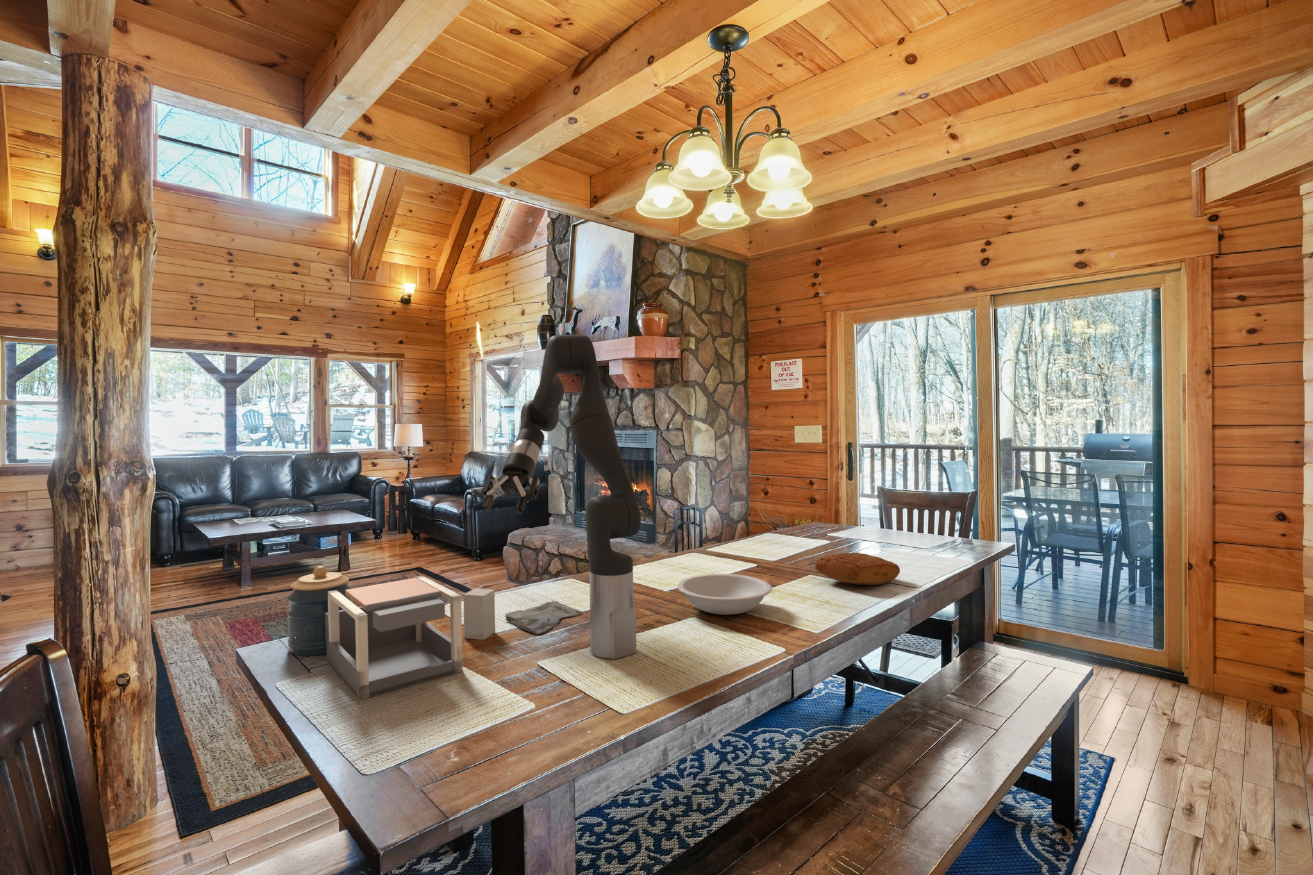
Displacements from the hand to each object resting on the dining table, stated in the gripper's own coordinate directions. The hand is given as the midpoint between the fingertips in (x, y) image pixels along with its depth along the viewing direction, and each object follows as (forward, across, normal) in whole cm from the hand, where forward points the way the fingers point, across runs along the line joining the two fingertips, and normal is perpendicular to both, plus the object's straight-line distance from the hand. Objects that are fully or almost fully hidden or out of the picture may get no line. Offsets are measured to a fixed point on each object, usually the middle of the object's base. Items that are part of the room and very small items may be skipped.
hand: (501, 511), depth 154 cm
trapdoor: (+34, -6, -13) cm, 37 cm away
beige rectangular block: (+27, 0, +10) cm, 29 cm away
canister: (+37, -31, +1) cm, 48 cm away
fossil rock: (+18, +10, +21) cm, 29 cm away
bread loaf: (-18, +88, +57) cm, 106 cm away
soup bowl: (+6, +53, +32) cm, 62 cm away
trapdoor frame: (+41, -8, -4) cm, 42 cm away
